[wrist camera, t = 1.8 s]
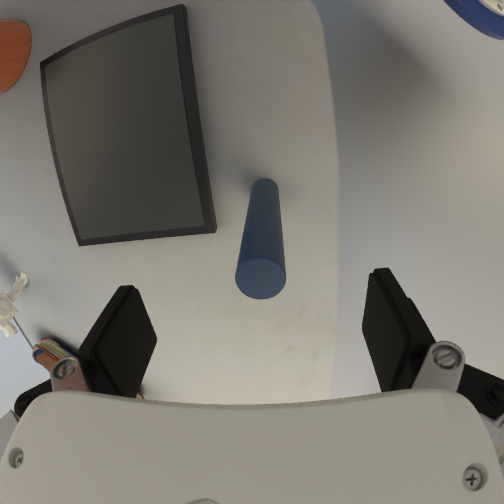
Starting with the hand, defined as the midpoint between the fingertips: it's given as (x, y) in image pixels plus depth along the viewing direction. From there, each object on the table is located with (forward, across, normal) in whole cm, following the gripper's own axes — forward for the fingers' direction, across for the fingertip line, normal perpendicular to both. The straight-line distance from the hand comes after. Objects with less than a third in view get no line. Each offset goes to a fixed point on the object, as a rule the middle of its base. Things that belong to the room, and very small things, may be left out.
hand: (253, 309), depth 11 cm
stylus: (+15, 0, 0) cm, 15 cm away
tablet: (+15, +12, -7) cm, 20 cm away
